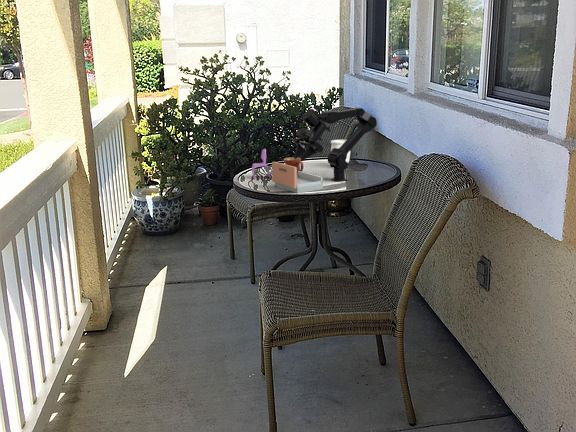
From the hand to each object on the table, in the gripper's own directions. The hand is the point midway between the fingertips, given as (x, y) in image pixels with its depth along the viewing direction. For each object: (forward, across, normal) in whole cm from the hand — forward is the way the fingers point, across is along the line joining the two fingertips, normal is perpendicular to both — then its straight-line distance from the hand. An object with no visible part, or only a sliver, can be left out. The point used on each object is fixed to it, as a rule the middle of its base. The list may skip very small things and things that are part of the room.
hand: (297, 159), depth 279 cm
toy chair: (+12, -33, +8) cm, 36 cm away
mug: (+3, -18, +16) cm, 25 cm away
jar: (-22, -27, +41) cm, 53 cm away
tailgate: (+14, 0, +2) cm, 14 cm away
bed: (+10, 0, +9) cm, 14 cm away
